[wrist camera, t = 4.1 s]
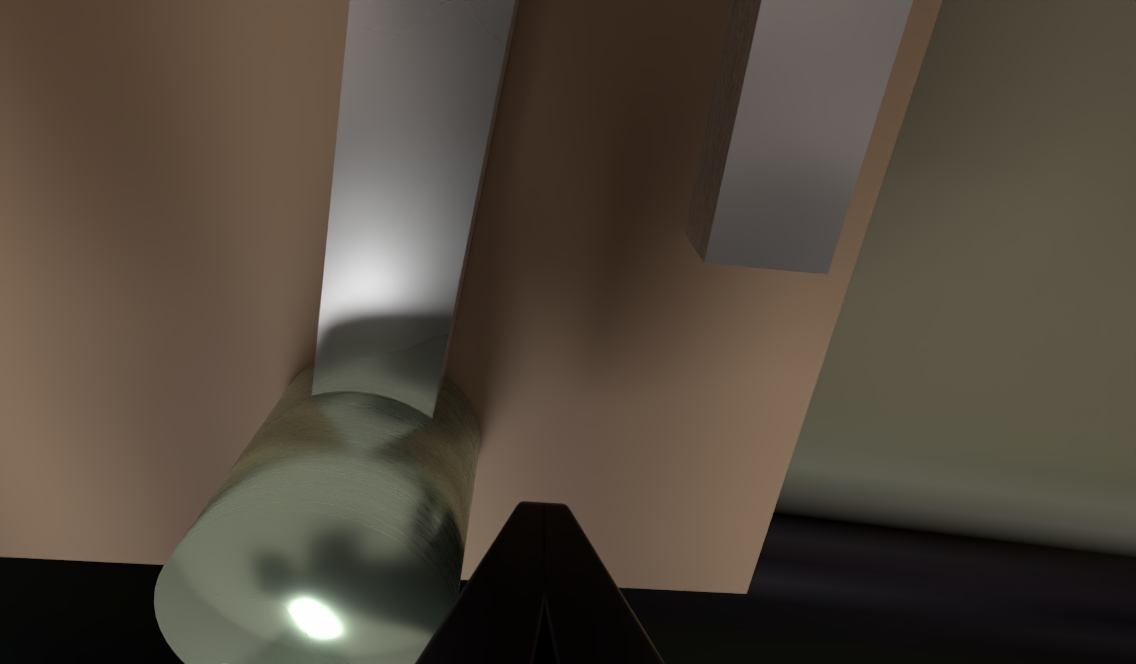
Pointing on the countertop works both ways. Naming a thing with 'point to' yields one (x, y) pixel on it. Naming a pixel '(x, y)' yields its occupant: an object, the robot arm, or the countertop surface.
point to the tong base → (790, 128)
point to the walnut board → (488, 296)
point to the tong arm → (364, 377)
